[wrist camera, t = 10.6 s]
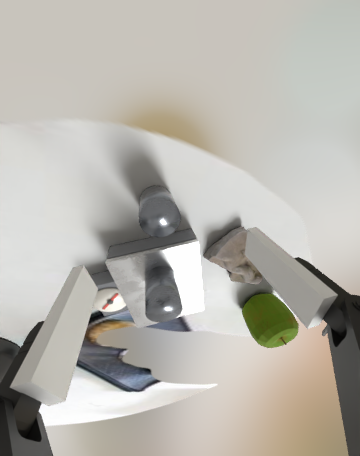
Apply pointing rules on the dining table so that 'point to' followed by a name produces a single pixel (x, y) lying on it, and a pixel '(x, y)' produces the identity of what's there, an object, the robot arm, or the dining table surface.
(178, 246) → the platform
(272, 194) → the dining table surface
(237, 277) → the stone
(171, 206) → the cylinder
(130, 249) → the scale
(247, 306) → the apple
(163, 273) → the cylinder
